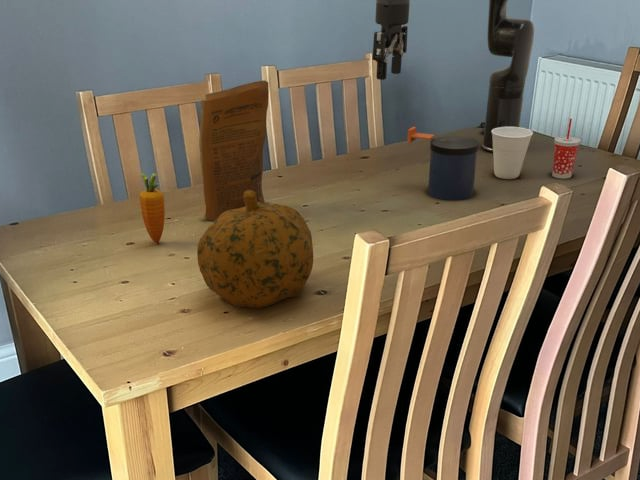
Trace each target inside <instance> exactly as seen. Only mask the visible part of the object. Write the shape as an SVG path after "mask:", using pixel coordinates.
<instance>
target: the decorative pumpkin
mask: <svg viewBox="0 0 640 480" xmlns="http://www.w3.org/2000/svg"><path fill="white" fill-rule="evenodd" d="M243 197H244V202H245V205H246V206H245V207H242V208H238V209H231V210H228V211H225V212H223V213H222V214H221V215H220V216H219V217H218V218H217V220H214V222H212V223H211V224H210V225H209V226H208V227H207V228H206V230H205V231H204V233H203V234H202V235H201V237H200V238H199V241H198V244H197V250H196V252H197V253H196V255H197V265H198V267H199V272H200V274H201V276H202V278H203V281H204V283H205V284H206V286H207V287H208V289H209V290H211V291H212V292H214V293H215V294H217V295H218V296H219V297H220V298H221V299H222V300H223V301H225V302H227V303H229V304H231V305H234V306H237V307H240V308H241V307H242V308H243V307H244V308H245V307H246V308H254V309H255V308H256V309H258V308H259V309H260V308H261V309H262V308H267V307H269V306H272V305H274V304H277V303H278V302H280V301H282V300H285V299H289V298H292V297H293V298H294V297H296V296H297V295H298V294H299V293H301V292H302V291H303V289H304V287H305V286H306V284H307V281H308V280H309V278H310V275H311V273H312V270H313V266H314V246H313V245H314V244H313V237H312V232H311V230H310V228H309V226H308V224H307V222H306V220H305V218H304V217H303V215H302V214H301V213H300V212H299V211H298V210H297V209H295V208H292V207H291V206H287V205H283V204H279V203H274V204H272V205H271V204H267V203H265V204H264V203H260V202H258V201H257V198H256V194H255V192H254V191H252V190H246V191H245V192H244V194H243Z"/></svg>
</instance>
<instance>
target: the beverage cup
mask: <svg viewBox="0 0 640 480" xmlns="http://www.w3.org/2000/svg"><path fill="white" fill-rule="evenodd" d="M572 122H573V121H572V118H569V122H568V128H567V134H566V136H557V137H555V138H554V141H553V143H554V150H553V159H552V160H553V162H552V163H553V164H552V172H551V176H552V177H554V178H556V179H562V180H563V179H570V178H571V177H572V176H573V171H574V166H575V162H576V158H577V153H578V150H579V146H580V145H581V139H580V138H578V137H575V136H570V135H571V134H570V132H571V126H572Z"/></svg>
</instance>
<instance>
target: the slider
mask: <svg viewBox="0 0 640 480" xmlns="http://www.w3.org/2000/svg"><path fill="white" fill-rule="evenodd" d="M434 138H436V135H435V134H431V133H423V132H417V126H412V127H410V128H409V129H407V140H406V142H407V143H408V144H411V143H412V142H414V141H416V139H421V140H427V141H429V140H430V141H431V140H433V139H434Z"/></svg>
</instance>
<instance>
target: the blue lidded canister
mask: <svg viewBox="0 0 640 480" xmlns="http://www.w3.org/2000/svg"><path fill="white" fill-rule="evenodd" d="M429 147H430V158H429V174H428V184H427V185H428V186H427V187H428V189H427V194H428V195H429V196H431V197H432V198H435V199H438V200H443V201H444V200H445V201H460V200H467V199H470V198H471V197H473V195H474V189H475V188H474V187H475V179H476V169H477V160H478V151H479V148H480V142H479V140H477V139H474V138H471V137H468V136H460V135H445V136H444V135H443V136H439V137H434V138H432V139H430V146H429Z"/></svg>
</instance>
